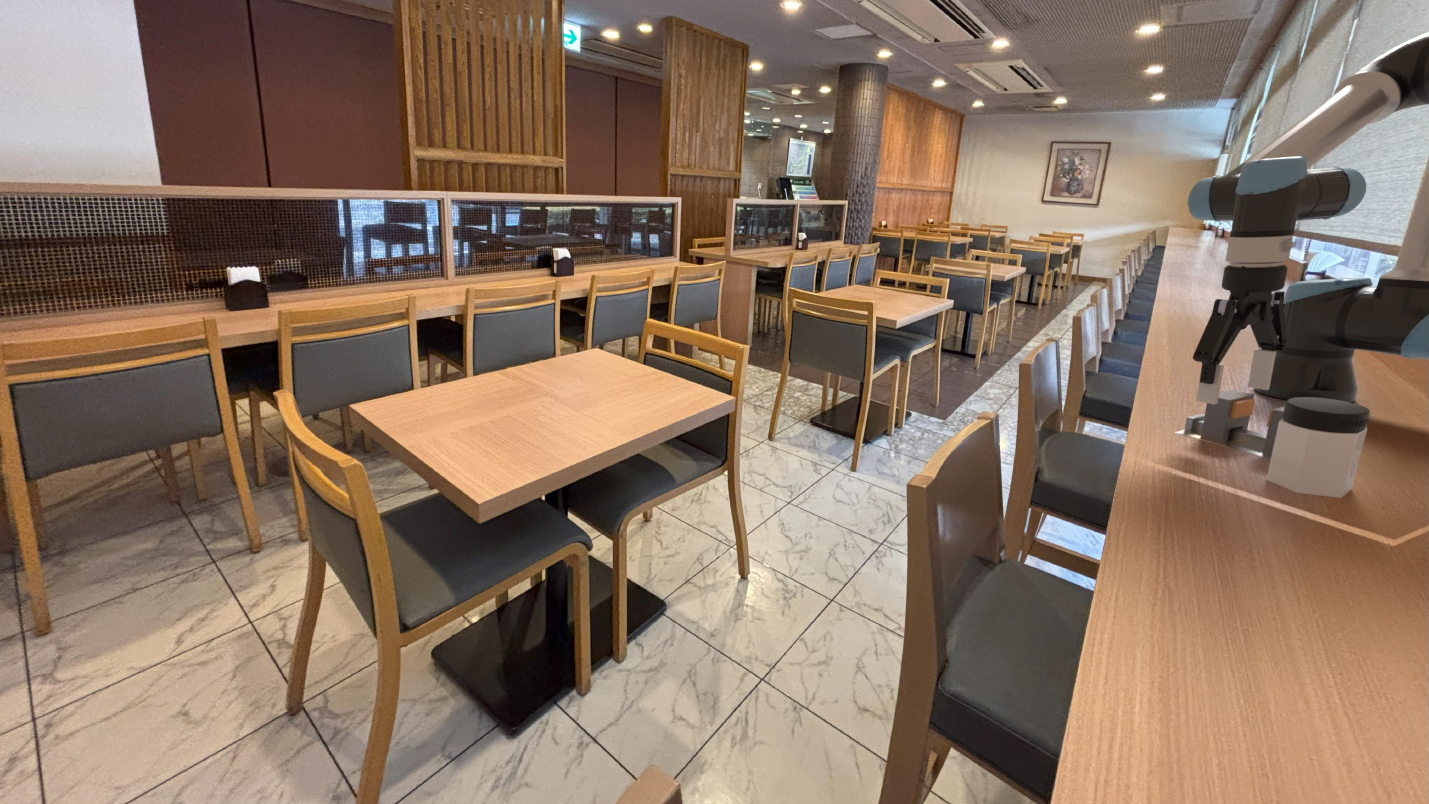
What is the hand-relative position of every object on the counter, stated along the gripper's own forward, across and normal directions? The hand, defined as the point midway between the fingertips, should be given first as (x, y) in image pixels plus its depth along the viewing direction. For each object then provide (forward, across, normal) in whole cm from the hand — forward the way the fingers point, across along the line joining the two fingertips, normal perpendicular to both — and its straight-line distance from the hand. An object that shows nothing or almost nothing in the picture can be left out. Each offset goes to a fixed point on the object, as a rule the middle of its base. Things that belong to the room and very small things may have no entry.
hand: (1233, 395), depth 103 cm
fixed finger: (+7, -1, -9) cm, 11 cm away
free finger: (+7, -1, 0) cm, 7 cm away
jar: (+8, -11, -16) cm, 21 cm away
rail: (+8, -1, -5) cm, 9 cm away
